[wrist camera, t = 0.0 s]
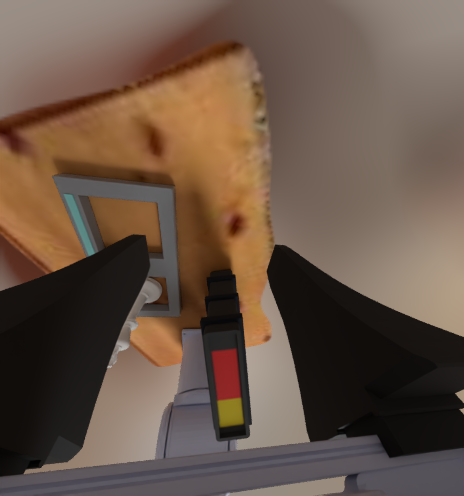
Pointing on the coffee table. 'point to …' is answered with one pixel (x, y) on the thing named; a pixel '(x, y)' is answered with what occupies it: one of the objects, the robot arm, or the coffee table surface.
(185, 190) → the coffee table surface
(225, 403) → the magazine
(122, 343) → the chess piece
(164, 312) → the port panel
